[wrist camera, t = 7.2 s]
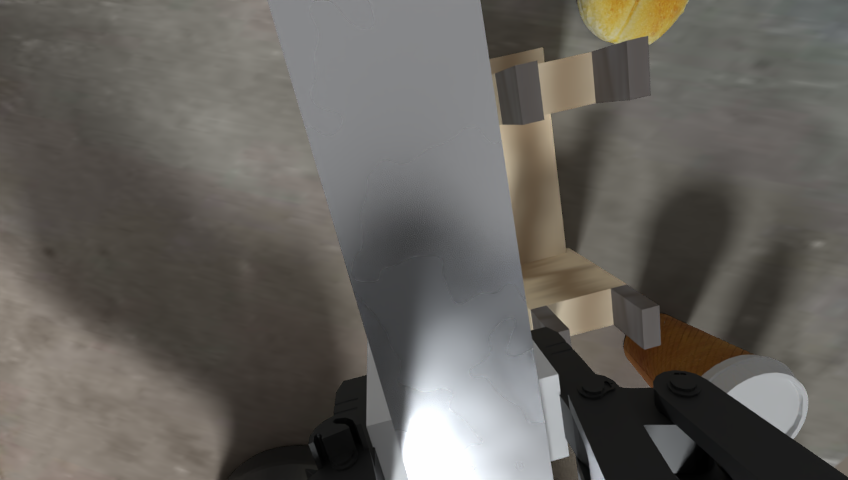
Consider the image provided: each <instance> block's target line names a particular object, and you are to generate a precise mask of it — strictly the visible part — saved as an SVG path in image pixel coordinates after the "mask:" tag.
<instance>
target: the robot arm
mask: <svg viewBox="0 0 848 480" xmlns="http://www.w3.org/2000/svg"><path fill="white" fill-rule="evenodd" d="M531 336H532V342H533V349H534V356H535V362H536V369H537V375H538V382H539V388H540V395H541V401H542V408H543V415H544V421H545V428H546V434H547V441H548V447H549V454H550V460H551V461H554V460H557V459H561V458H564V457H568V456H569V451H568V444H567V441H568V443H569V445H570V446H571V448H572V449H573V451H574V453H575V454H576V462H577V470H578V478H579V480H848V477H847V476H845V475H844V474H842V473H841V472H840V471H838V470H837V469H835V468H834V467H832V466H831V465H829V464H828V463H827V462H825V461H824V460H822V459H821V458H819V457H818V456H816V455H815V454H814V453H812V452H811V451H809V450H808V449H806V448H805V447H803V446H802V445H801V444H799V443H798V442H796V441H795V440H793V439H792V438H791V437H789V436H788V435H786V434H785V433H783V432H782V431H780V430H779V429H778V428H776V427H775V426H773V425H772V424H770V423H769V422H767V421H766V420H765V419H763V418H762V417H760V416H759V415H757V414H756V413H755V412H753V411H752V410H750V409H749V408H747V407H746V406H744V405H743V404H742V403H740V402H739V401H737V400H736V399H734V398H733V397H731V396H730V395H729V394H727V393H726V392H724V391H723V390H721V389H720V388H718V387H717V386H716V385H714V384H713V383H711V382H710V381H708V380H707V379H705V378H703V377H701V376H699V375H697V374H695V373H691V372H687V371H679V370H671V371H666V372H662V373H661V374H659V375H657V376H656V377H655V379H654V381H653V388H622V387H619V386H618V385H617V384H616V383H615V382H614V381H613V380H611V379H609V378H607V377H605V376H602V375H597V374H595V373H594V372H593V371H592V370H591V369H590V367H589V366H588V365H587V364H586V363H585V362H584V361H583V360H582V358H581V357H580V356H579V355H578V354H577V353H576V352H575V351H574V350H573V349H572V347H571V346H570V345H569V344H568V343H566V341H565V339H564V338H563V337H562V336H561V335H560V334H559V333H558V332H556V331H554V330H552V329H550V328H548V327H543V328H539V329H535V330H531ZM308 445H309V446H286V447H280V448H275V449H271V450H268V451H265V452H263V453H260V454H258V455H256V456H254V457H252V458H250V459H249V460H247V461H246V462H244V463H243V464H242V465H240V466H239V467H238V468H237V469H236V470H235V471H234V472H233V473H232V474H231V475H230V477H229V478H228V479H227V480H409V477H408V474H407V470H406V467H405V464H404V460H403V457H402V454H401V450H400V447H399V443H398V440H397V437H396V433H395V430H394V426H393V423H392V420H391V416H390V413H389V410H388V406H387V403H386V399H385V396H384V393H383V389H382V386H381V382H380V379H379V376H378V372H377V369H376V366H375V362H374V359H373V355H372V352H371V349H370V345H369V342H367V375H365V376H361V377H358V378H354V379H350V380H346V381H343V383H342V385H341V386H340V388H339V389H338V391H337V392H336V399H335V407H334V416H333V417H331V418H329V419H327V420H325V421H323V422H322V423H321V424H320V425H319V426H318V427H317V428H315V430H314V431H313V433H312V434H311V436H310V439H309V444H308Z"/></svg>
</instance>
